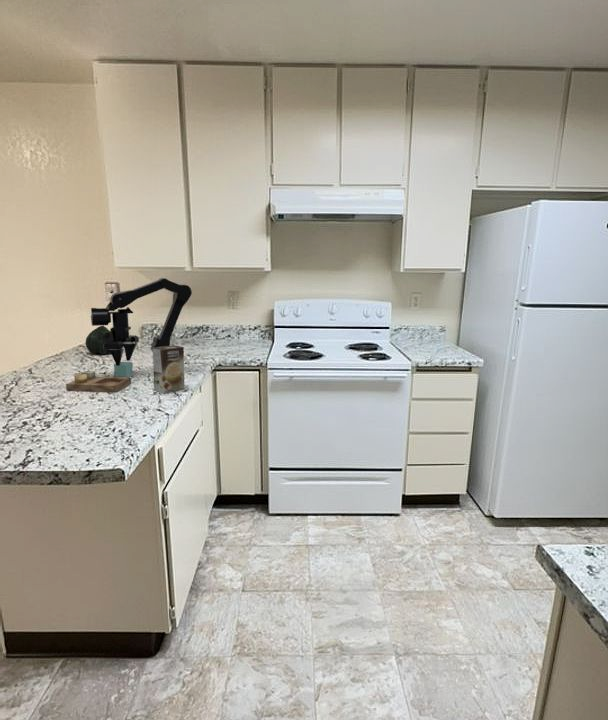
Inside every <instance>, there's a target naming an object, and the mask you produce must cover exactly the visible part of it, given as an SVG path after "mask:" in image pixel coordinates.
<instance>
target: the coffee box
mask: <svg viewBox="0 0 608 720" xmlns="http://www.w3.org/2000/svg"><path fill="white" fill-rule="evenodd" d="M184 349H185V348H184V347H183V346H179V345H176V344H175V345H174V344H172V345H170V346H163V347H153V352H152V363H153V365H152V367H153V368H152V369H153V372H152V373H153V391H154V392H158V393H161V394H167V393H171V392H176V391H177V392H178V391H182V390H185V357H184V356H185V354H184V353H185V352H184V351H185V350H184Z"/></svg>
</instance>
